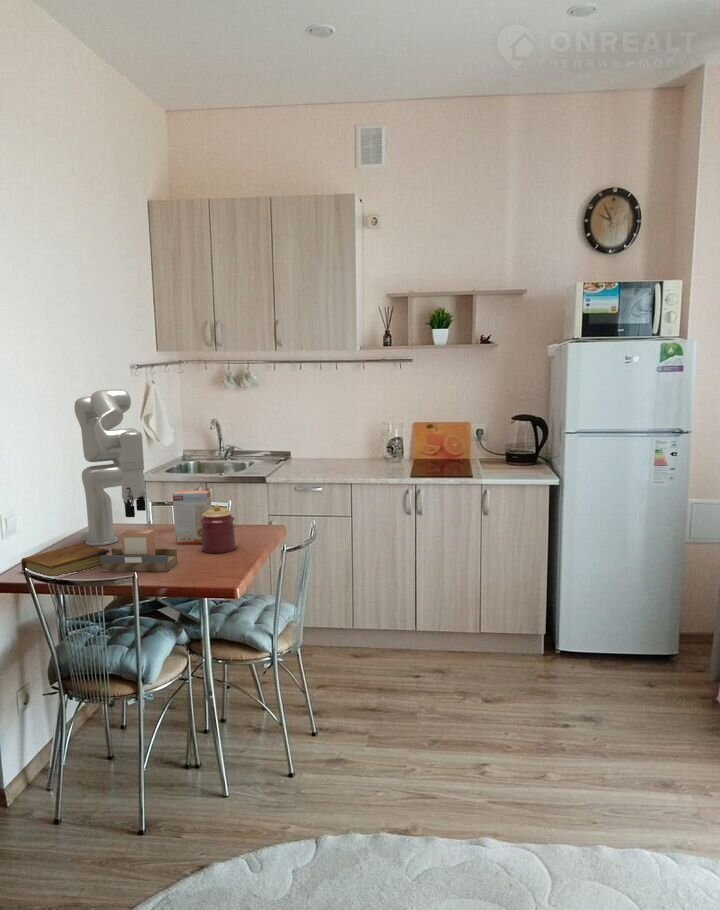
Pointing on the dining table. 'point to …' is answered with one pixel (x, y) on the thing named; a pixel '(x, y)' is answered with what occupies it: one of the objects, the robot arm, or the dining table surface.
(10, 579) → the dining table surface
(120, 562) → the wooden storage tray
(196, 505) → the cracker box
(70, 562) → the diary
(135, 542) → the carton
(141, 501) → the robot arm
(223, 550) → the canister
